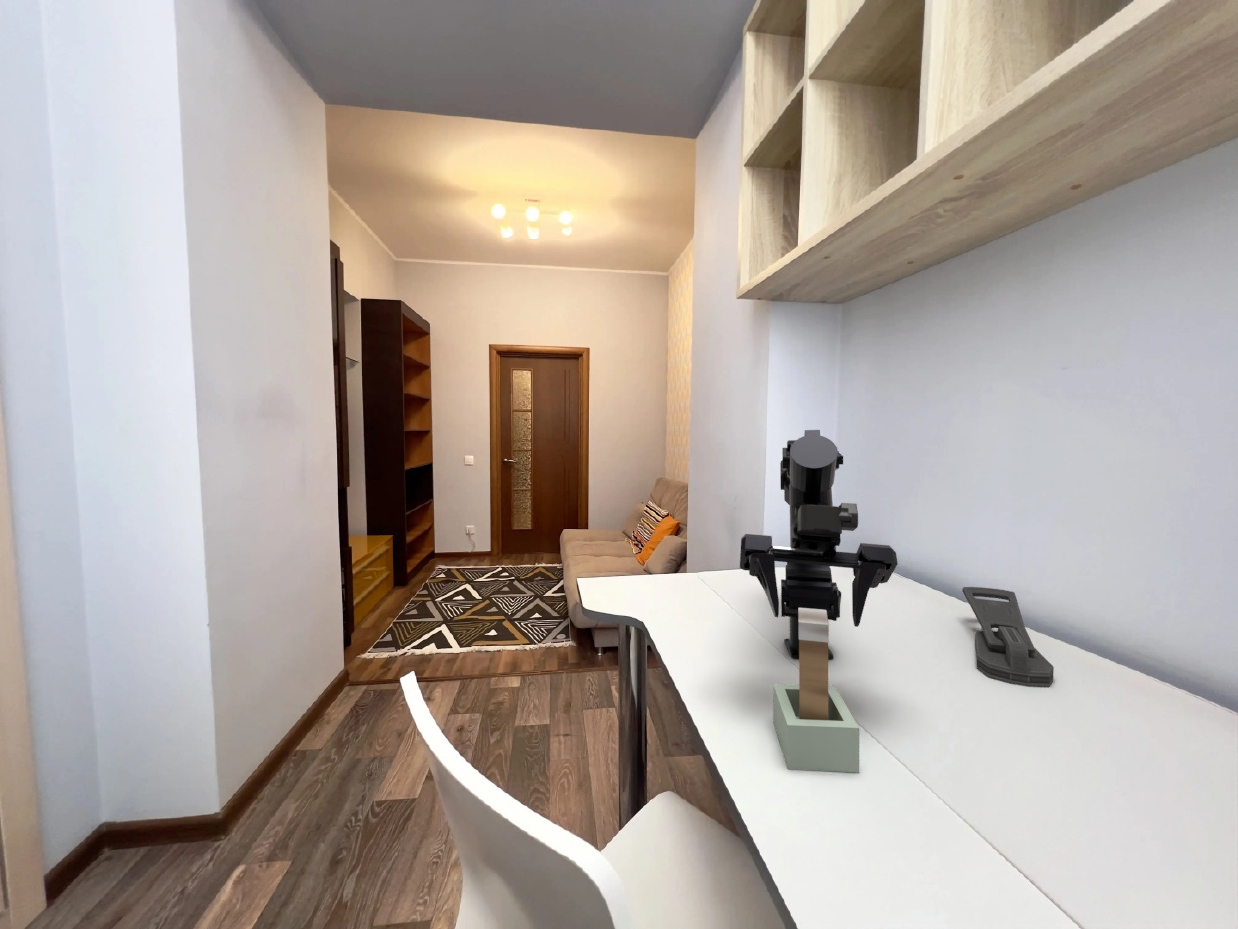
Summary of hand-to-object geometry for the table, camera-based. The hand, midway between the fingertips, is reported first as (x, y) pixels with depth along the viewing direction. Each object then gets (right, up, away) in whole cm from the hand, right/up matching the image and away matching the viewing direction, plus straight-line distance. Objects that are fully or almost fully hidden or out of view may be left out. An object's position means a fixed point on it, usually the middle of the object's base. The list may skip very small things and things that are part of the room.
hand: (816, 620), depth 62 cm
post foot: (-1, -14, -3) cm, 14 cm away
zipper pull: (+38, -11, +20) cm, 44 cm away
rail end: (-1, -12, -3) cm, 13 cm away
